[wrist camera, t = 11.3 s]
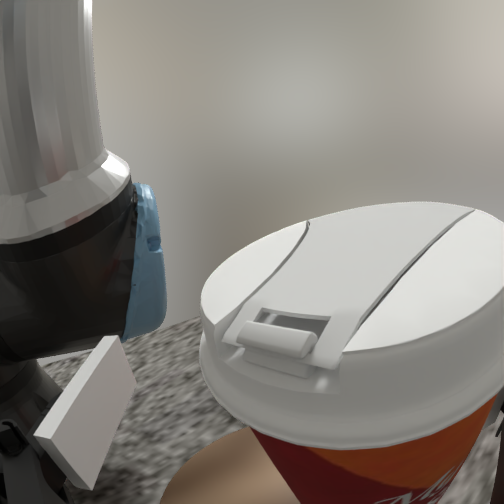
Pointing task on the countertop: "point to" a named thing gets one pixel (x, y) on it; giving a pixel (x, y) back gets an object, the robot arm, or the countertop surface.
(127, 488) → the countertop surface
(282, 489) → the pedestal stand
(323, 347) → the paper cup
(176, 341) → the countertop surface
